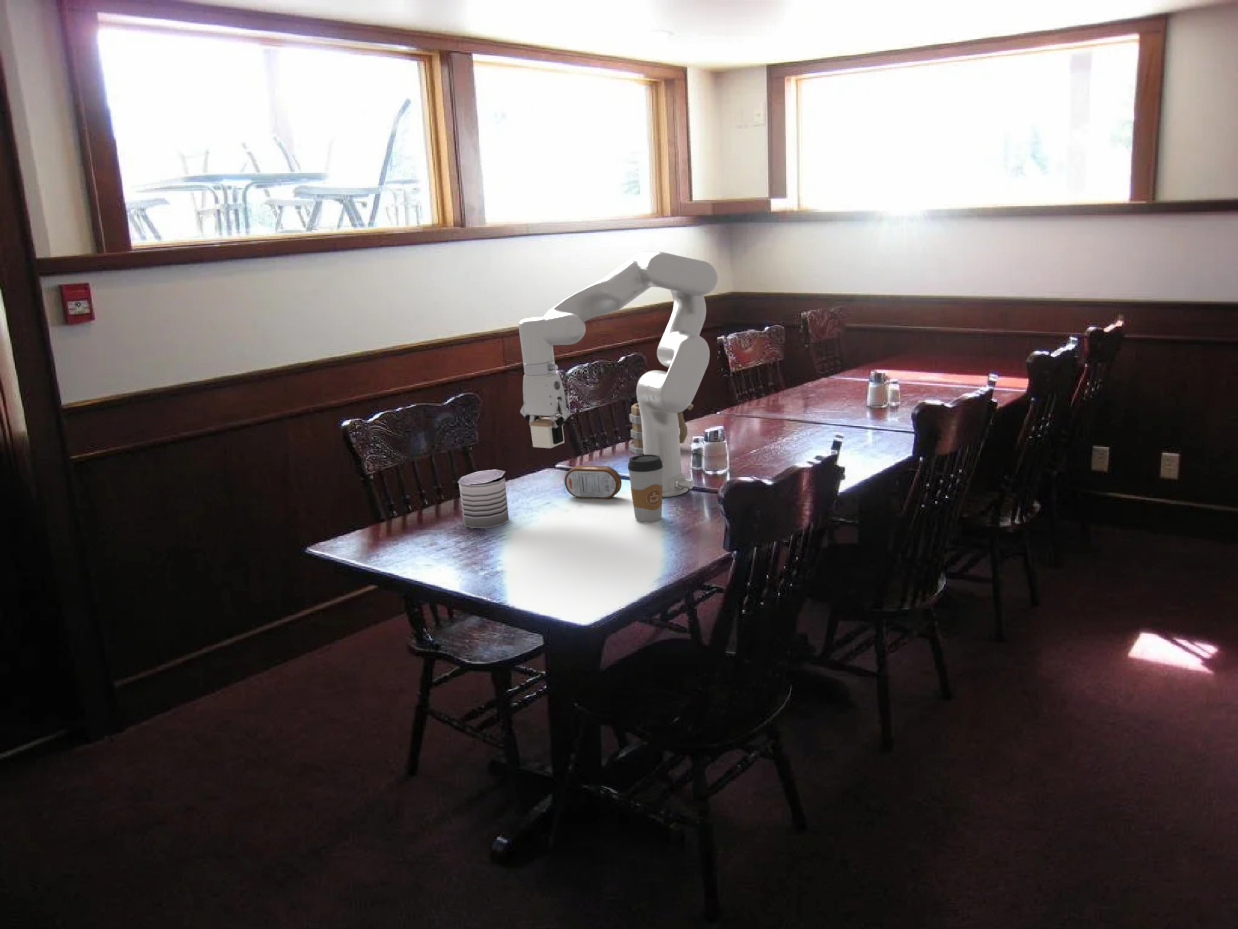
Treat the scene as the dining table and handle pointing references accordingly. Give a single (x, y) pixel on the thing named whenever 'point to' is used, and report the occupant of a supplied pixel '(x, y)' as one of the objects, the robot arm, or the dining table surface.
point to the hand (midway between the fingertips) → (548, 441)
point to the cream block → (543, 433)
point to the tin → (593, 482)
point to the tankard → (637, 429)
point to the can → (484, 499)
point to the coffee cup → (646, 487)
